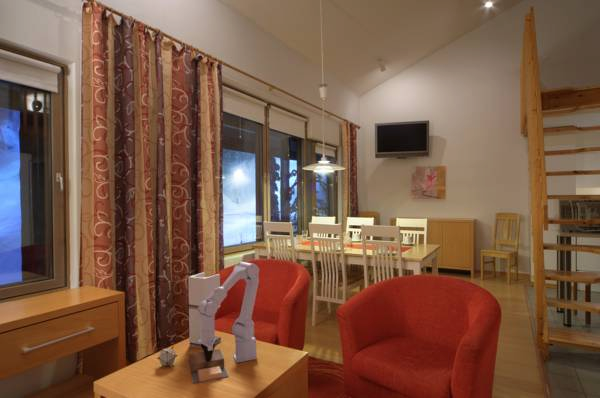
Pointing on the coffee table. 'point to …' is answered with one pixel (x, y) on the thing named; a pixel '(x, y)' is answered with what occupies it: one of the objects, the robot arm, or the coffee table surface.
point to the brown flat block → (200, 363)
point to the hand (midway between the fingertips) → (208, 360)
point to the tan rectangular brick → (209, 373)
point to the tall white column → (197, 293)
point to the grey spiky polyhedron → (167, 357)
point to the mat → (196, 379)
